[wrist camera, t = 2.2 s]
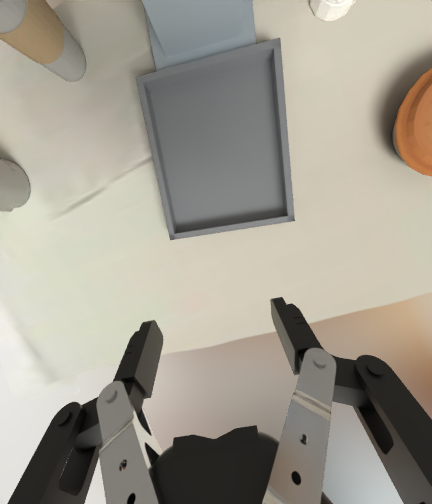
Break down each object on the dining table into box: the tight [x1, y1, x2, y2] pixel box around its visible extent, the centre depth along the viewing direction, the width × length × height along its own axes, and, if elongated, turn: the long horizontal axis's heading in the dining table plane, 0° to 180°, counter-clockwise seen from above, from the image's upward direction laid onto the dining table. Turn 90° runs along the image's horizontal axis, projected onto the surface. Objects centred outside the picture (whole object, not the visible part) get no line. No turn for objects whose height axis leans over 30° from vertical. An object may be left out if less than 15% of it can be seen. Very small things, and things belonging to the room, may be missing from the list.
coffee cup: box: [0, 0, 86, 81], centre depth 24 cm, size 9×9×15 cm
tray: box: [136, 38, 295, 240], centre depth 31 cm, size 26×22×3 cm
